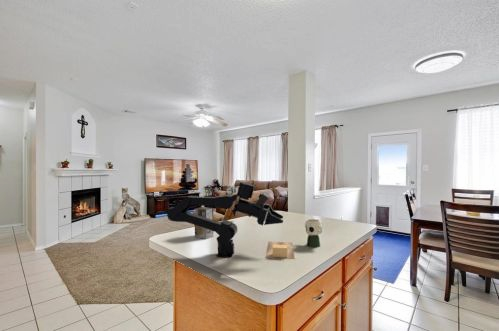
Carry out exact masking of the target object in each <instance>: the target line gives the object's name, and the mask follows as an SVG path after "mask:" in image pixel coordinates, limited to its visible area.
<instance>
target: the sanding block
mask: <svg viewBox="0 0 499 331" xmlns="http://www.w3.org/2000/svg"><path fill="white" fill-rule="evenodd" d="M273 257H278V258H287V245H273Z"/></svg>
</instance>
